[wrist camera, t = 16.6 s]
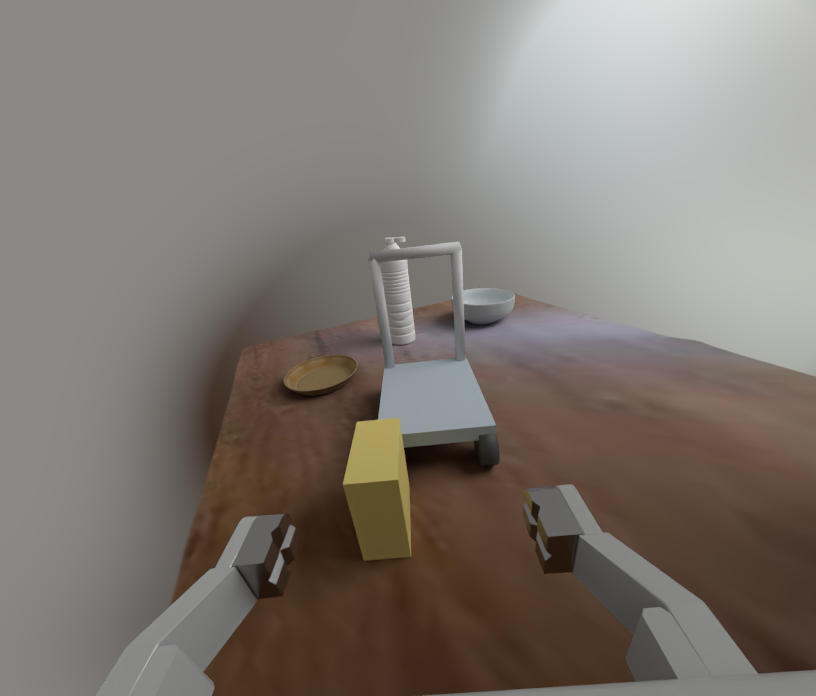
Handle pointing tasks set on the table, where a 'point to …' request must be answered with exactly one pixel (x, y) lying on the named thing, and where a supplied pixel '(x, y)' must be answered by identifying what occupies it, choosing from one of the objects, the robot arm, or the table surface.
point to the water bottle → (398, 296)
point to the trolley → (433, 374)
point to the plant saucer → (321, 374)
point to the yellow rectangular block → (379, 490)
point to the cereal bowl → (486, 304)
